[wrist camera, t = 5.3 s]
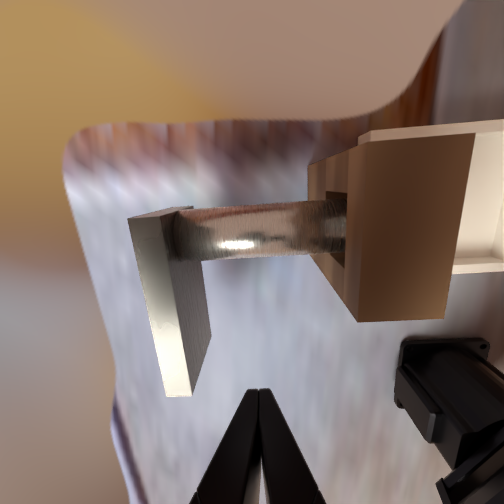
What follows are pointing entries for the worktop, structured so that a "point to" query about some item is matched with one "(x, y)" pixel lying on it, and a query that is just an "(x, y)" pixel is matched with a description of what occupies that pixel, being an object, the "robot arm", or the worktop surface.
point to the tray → (472, 192)
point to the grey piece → (216, 248)
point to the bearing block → (395, 223)
